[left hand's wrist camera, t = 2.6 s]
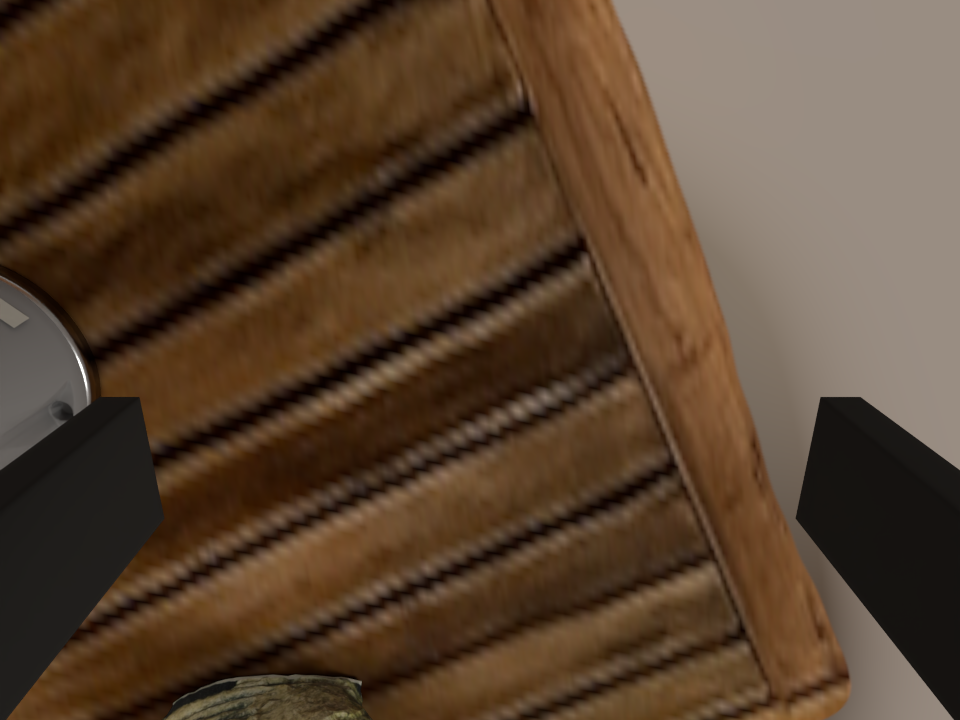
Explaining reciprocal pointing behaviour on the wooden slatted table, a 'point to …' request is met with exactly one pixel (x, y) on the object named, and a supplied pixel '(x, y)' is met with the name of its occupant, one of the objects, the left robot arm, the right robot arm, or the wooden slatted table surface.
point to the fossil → (273, 699)
